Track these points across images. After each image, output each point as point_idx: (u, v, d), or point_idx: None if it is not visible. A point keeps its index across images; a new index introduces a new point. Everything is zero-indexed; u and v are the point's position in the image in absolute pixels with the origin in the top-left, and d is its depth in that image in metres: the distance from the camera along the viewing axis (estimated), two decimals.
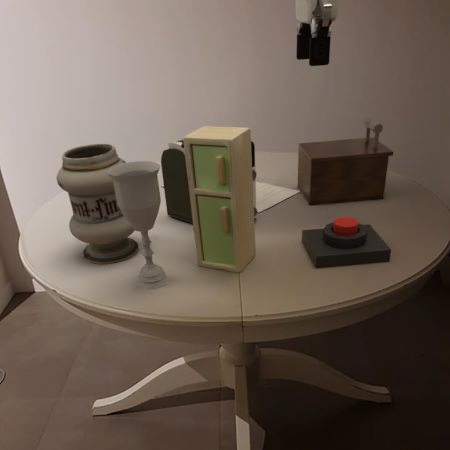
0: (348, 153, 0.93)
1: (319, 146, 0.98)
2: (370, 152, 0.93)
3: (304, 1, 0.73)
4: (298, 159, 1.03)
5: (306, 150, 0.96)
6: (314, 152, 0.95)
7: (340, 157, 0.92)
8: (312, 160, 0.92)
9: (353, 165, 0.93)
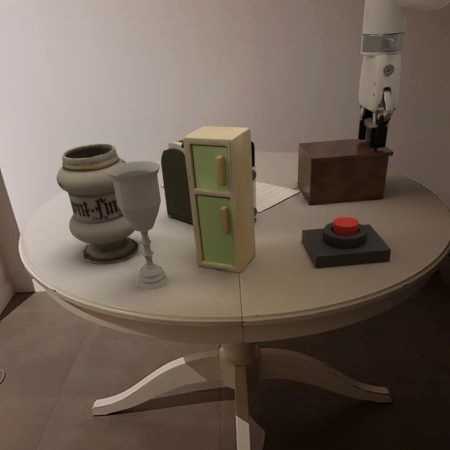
0: (348, 153, 0.93)
1: (319, 146, 0.98)
2: (370, 152, 0.93)
3: (370, 95, 0.89)
4: (298, 159, 1.03)
5: (306, 150, 0.96)
6: (314, 152, 0.95)
7: (340, 157, 0.92)
8: (312, 160, 0.92)
9: (353, 165, 0.93)
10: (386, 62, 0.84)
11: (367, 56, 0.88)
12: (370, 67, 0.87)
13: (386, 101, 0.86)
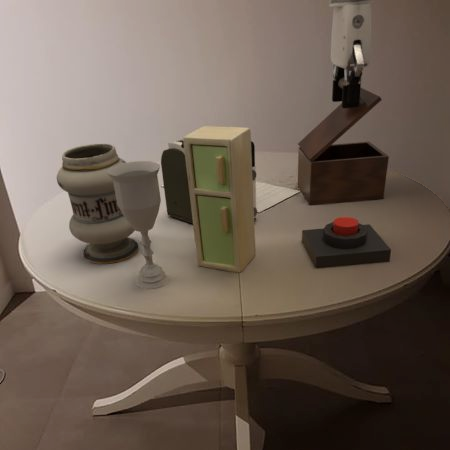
0: (339, 129, 0.90)
1: (314, 136, 0.97)
2: (358, 113, 0.88)
3: (341, 50, 0.84)
4: (298, 159, 1.03)
5: (304, 149, 0.96)
6: (311, 148, 0.94)
7: (334, 138, 0.90)
8: (312, 159, 0.91)
9: (353, 165, 0.93)
10: (355, 12, 0.80)
11: (336, 8, 0.83)
12: (339, 20, 0.82)
13: (356, 55, 0.82)
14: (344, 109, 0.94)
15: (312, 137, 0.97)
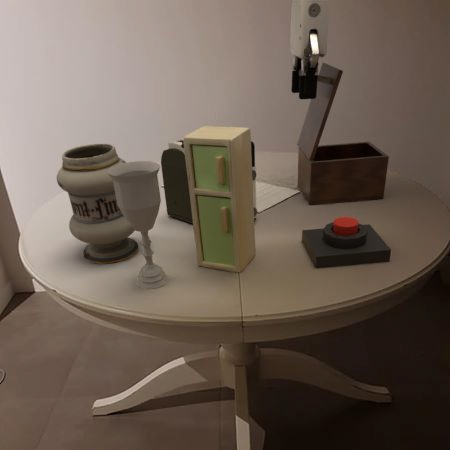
0: (320, 118, 0.89)
1: (306, 132, 0.96)
2: (329, 95, 0.86)
3: (297, 39, 0.82)
4: (298, 159, 1.03)
5: (303, 150, 0.96)
6: (307, 146, 0.94)
7: (320, 130, 0.89)
8: (311, 159, 0.91)
9: (353, 165, 0.93)
10: (311, 1, 0.78)
11: None
12: (296, 8, 0.81)
13: (312, 44, 0.80)
14: (318, 93, 0.92)
15: (305, 134, 0.97)
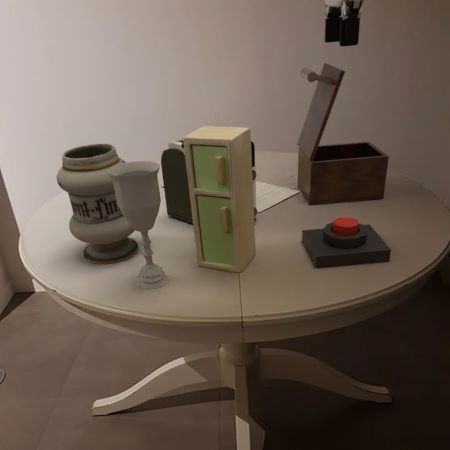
0: (321, 118, 0.89)
1: (306, 132, 0.96)
2: (330, 95, 0.86)
3: None
4: (298, 159, 1.03)
5: (303, 150, 0.96)
6: (307, 146, 0.94)
7: (321, 130, 0.89)
8: (311, 159, 0.91)
9: (353, 165, 0.93)
10: None
11: None
12: None
13: None
14: (319, 94, 0.92)
15: (305, 134, 0.97)
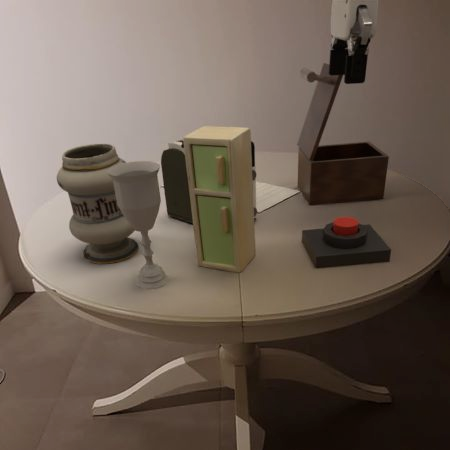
0: (321, 118, 0.89)
1: (306, 132, 0.96)
2: (330, 95, 0.86)
3: (342, 18, 0.71)
4: (298, 159, 1.03)
5: (303, 150, 0.96)
6: (307, 146, 0.94)
7: (321, 130, 0.89)
8: (311, 159, 0.91)
9: (353, 165, 0.93)
10: None
11: None
12: None
13: (362, 15, 0.67)
14: (319, 94, 0.92)
15: (305, 134, 0.97)
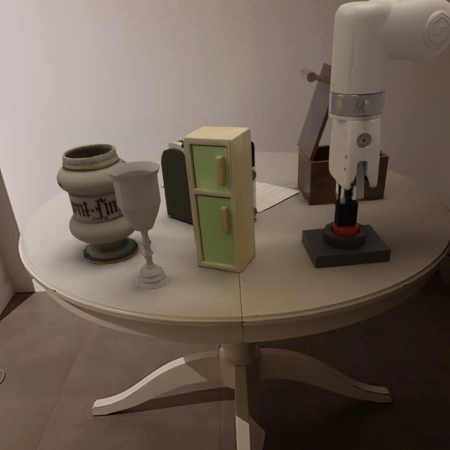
0: (321, 118, 0.89)
1: (306, 132, 0.96)
2: None
3: (341, 169, 0.68)
4: (298, 159, 1.03)
5: (303, 150, 0.96)
6: (307, 146, 0.94)
7: (321, 130, 0.89)
8: (311, 159, 0.91)
9: None
10: (360, 130, 0.64)
11: (337, 119, 0.67)
12: (341, 134, 0.66)
13: (356, 185, 0.67)
14: (319, 94, 0.92)
15: (305, 134, 0.97)
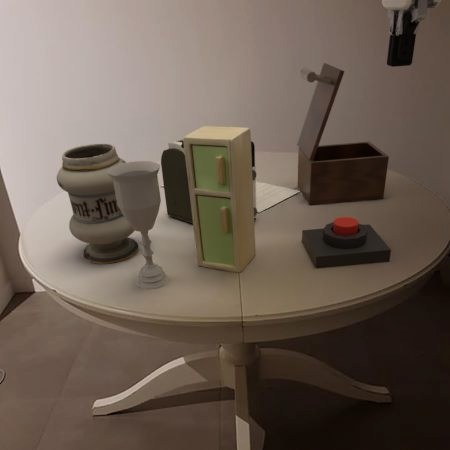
0: (321, 118, 0.89)
1: (306, 132, 0.96)
2: (330, 95, 0.86)
3: None
4: (298, 159, 1.03)
5: (303, 150, 0.96)
6: (307, 146, 0.94)
7: (321, 130, 0.89)
8: (311, 159, 0.91)
9: (353, 165, 0.93)
10: None
11: None
12: None
13: None
14: (319, 94, 0.92)
15: (305, 134, 0.97)
